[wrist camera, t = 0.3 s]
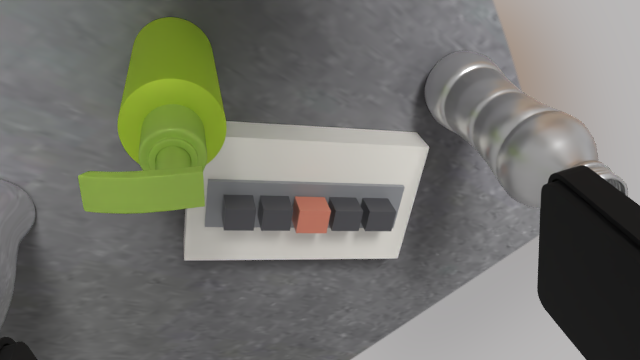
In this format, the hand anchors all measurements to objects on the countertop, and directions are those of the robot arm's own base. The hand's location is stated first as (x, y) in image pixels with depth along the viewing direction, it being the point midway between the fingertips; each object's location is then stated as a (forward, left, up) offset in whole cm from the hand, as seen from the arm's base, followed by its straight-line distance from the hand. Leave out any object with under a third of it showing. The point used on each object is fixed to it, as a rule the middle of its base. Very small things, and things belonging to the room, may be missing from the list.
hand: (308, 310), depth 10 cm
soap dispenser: (+7, -3, -35) cm, 36 cm away
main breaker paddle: (+18, +9, -31) cm, 37 cm away
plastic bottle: (+7, +21, -35) cm, 42 cm away
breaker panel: (+18, +9, -35) cm, 40 cm away
